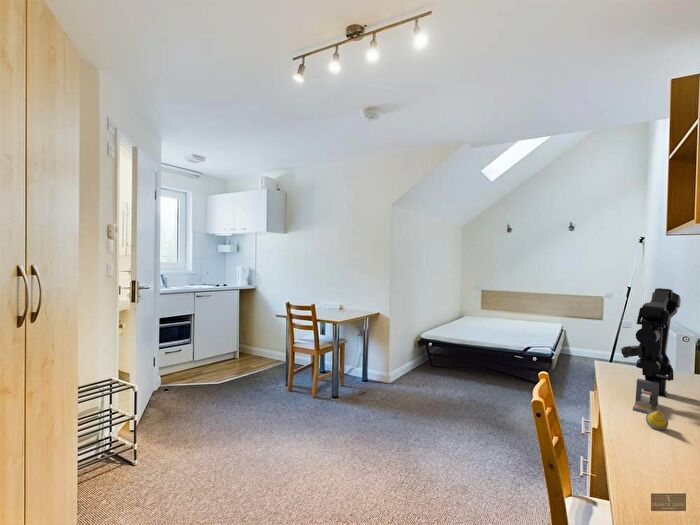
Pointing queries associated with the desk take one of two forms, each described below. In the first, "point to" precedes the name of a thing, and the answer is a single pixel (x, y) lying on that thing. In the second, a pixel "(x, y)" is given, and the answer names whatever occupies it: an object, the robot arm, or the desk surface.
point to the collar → (647, 386)
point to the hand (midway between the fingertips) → (648, 384)
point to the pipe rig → (645, 403)
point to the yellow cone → (657, 420)
